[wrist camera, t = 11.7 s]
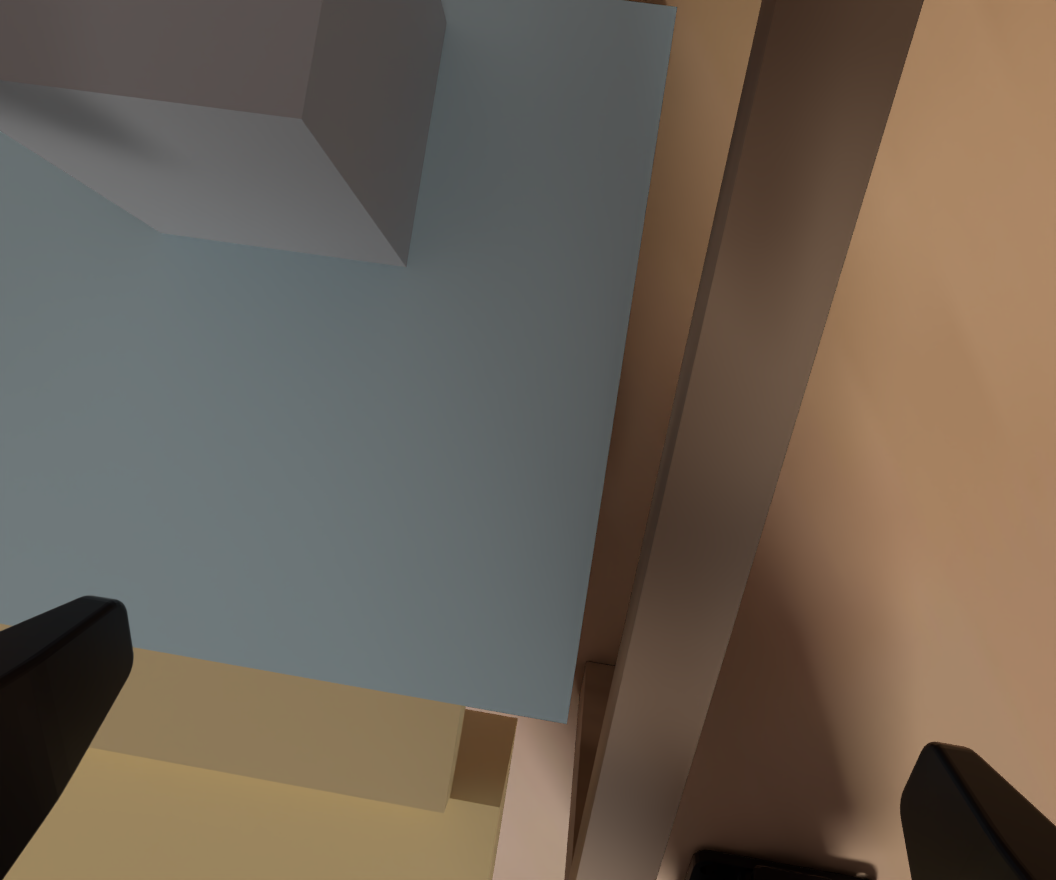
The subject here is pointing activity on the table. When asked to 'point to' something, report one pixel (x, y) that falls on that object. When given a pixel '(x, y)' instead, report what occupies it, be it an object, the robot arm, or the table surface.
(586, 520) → the trapdoor
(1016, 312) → the table surface
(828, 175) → the frame
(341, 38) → the stone
